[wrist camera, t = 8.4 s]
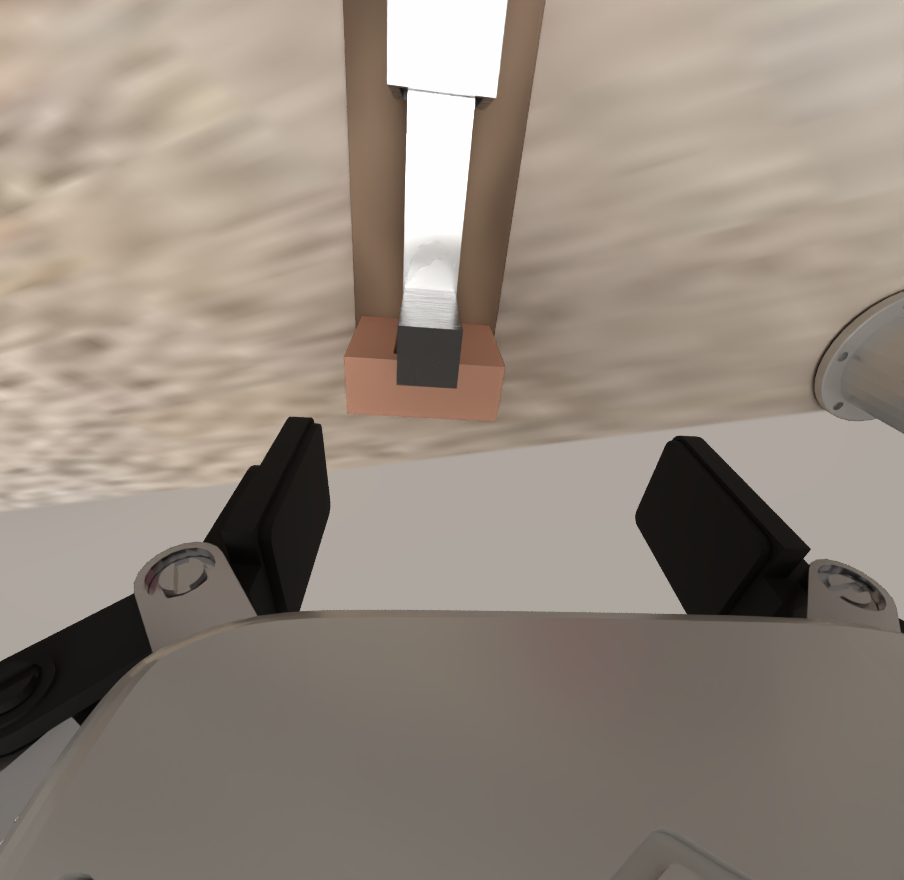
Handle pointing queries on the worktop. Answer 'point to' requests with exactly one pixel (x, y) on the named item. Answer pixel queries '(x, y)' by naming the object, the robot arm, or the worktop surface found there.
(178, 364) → the worktop surface
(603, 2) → the worktop surface
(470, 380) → the socket block
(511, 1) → the base board
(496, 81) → the outer sleeve
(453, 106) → the tube
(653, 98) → the worktop surface
